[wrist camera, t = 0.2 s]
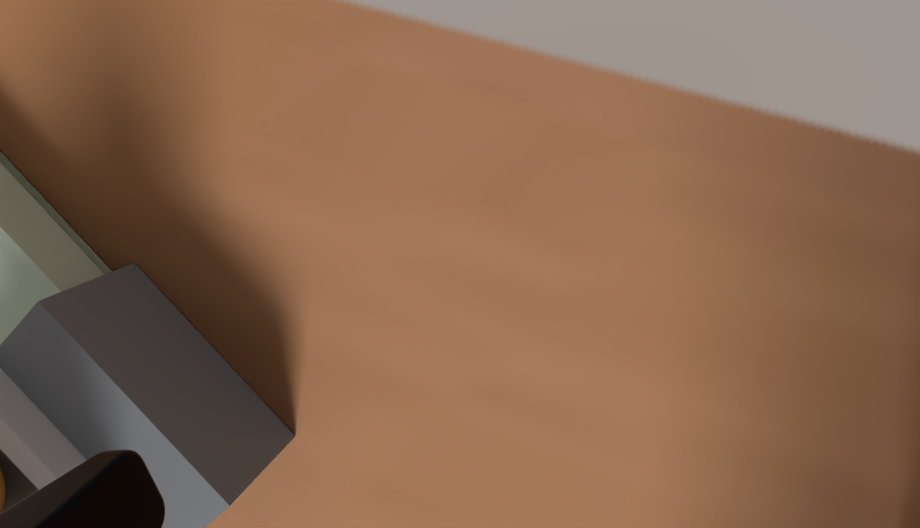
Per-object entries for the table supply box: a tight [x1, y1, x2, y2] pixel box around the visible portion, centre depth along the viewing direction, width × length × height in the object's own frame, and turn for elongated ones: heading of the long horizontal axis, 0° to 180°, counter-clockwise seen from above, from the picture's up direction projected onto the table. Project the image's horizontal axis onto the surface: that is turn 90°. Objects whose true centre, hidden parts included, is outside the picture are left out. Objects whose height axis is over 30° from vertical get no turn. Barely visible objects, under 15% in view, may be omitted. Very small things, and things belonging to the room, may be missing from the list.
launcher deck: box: [0, 263, 295, 528], centre depth 27 cm, size 8×12×6 cm, turn 134°
